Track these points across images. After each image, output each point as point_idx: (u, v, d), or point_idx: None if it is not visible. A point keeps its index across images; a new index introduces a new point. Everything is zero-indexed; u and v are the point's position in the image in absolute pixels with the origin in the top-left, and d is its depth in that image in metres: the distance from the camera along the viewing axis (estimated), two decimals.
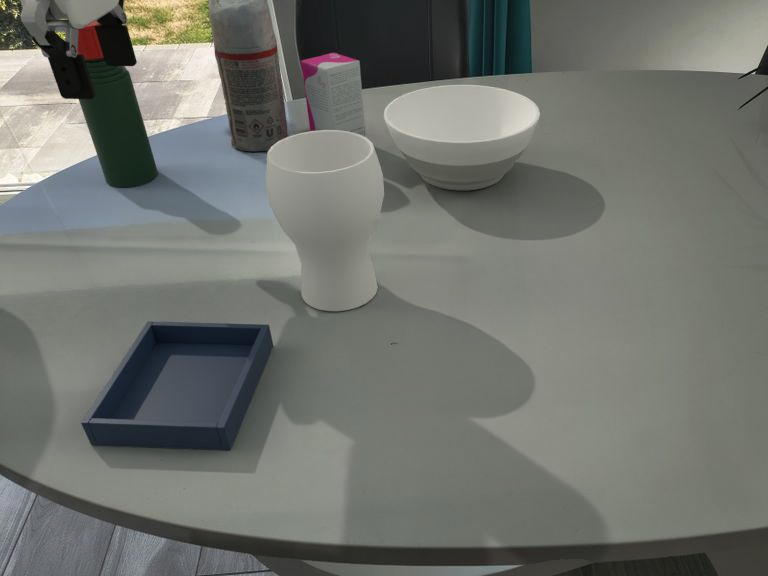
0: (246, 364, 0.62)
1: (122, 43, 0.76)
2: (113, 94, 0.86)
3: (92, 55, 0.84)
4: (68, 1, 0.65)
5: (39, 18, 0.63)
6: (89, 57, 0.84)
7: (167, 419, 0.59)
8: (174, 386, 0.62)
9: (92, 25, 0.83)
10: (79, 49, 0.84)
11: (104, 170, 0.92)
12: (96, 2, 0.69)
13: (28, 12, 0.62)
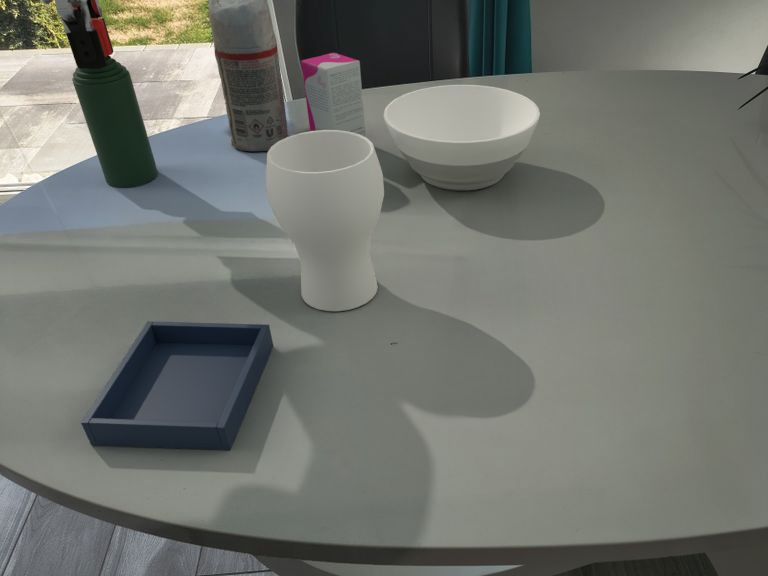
0: (246, 364, 0.62)
1: None
2: (113, 94, 0.86)
3: None
4: None
5: (70, 8, 0.77)
6: None
7: (167, 419, 0.59)
8: (174, 386, 0.62)
9: None
10: None
11: (104, 170, 0.92)
12: None
13: (62, 6, 0.76)
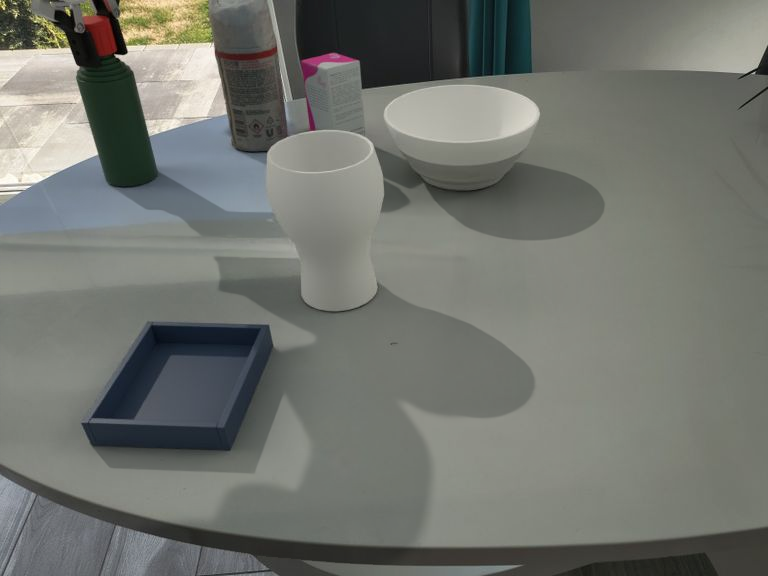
0: (246, 364, 0.62)
1: None
2: (117, 93, 0.86)
3: None
4: None
5: None
6: None
7: (167, 419, 0.59)
8: (174, 386, 0.62)
9: (90, 16, 0.85)
10: None
11: (104, 168, 0.92)
12: None
13: None
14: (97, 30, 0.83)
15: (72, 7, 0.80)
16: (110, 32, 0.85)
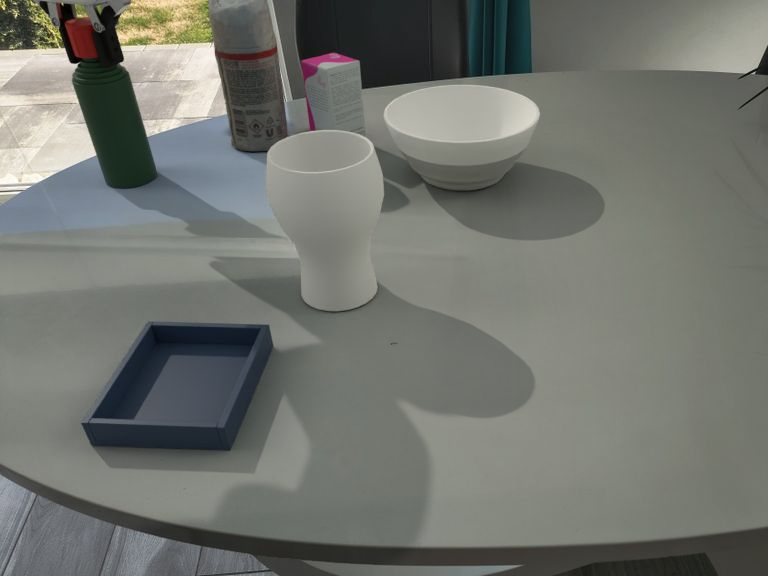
0: (246, 364, 0.62)
1: None
2: (126, 90, 0.87)
3: None
4: None
5: None
6: None
7: (167, 419, 0.59)
8: (174, 386, 0.62)
9: (70, 20, 0.84)
10: None
11: (114, 173, 0.92)
12: None
13: None
14: None
15: (48, 2, 0.82)
16: None
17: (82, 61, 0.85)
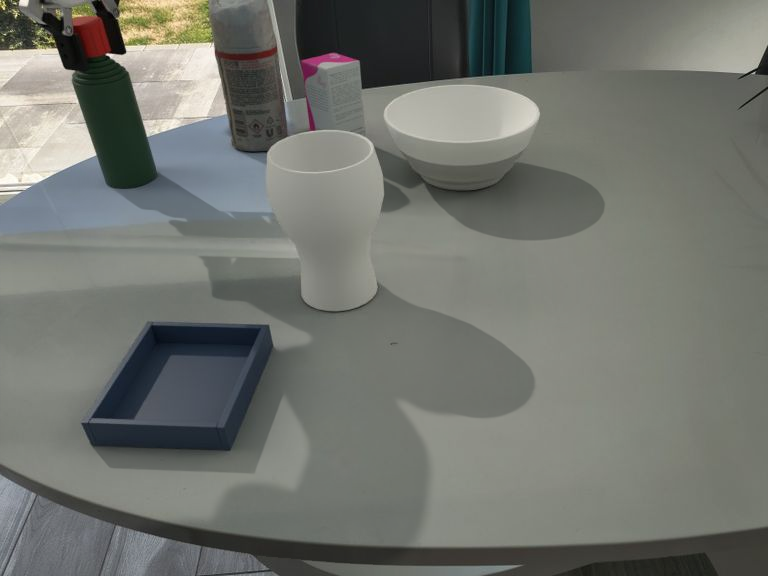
0: (246, 364, 0.62)
1: None
2: (126, 90, 0.87)
3: None
4: None
5: None
6: None
7: (167, 419, 0.59)
8: (174, 386, 0.62)
9: (73, 25, 0.82)
10: None
11: (114, 173, 0.92)
12: None
13: None
14: None
15: (63, 9, 0.79)
16: None
17: None
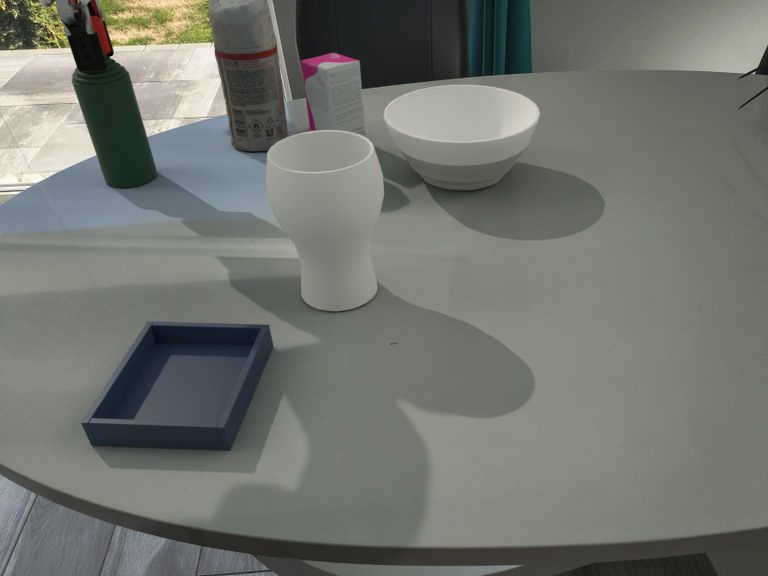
0: (246, 364, 0.62)
1: None
2: (126, 90, 0.87)
3: None
4: None
5: (70, 10, 0.77)
6: None
7: (167, 419, 0.59)
8: (174, 386, 0.62)
9: None
10: None
11: (114, 173, 0.92)
12: None
13: (63, 8, 0.76)
14: None
15: None
16: None
17: None
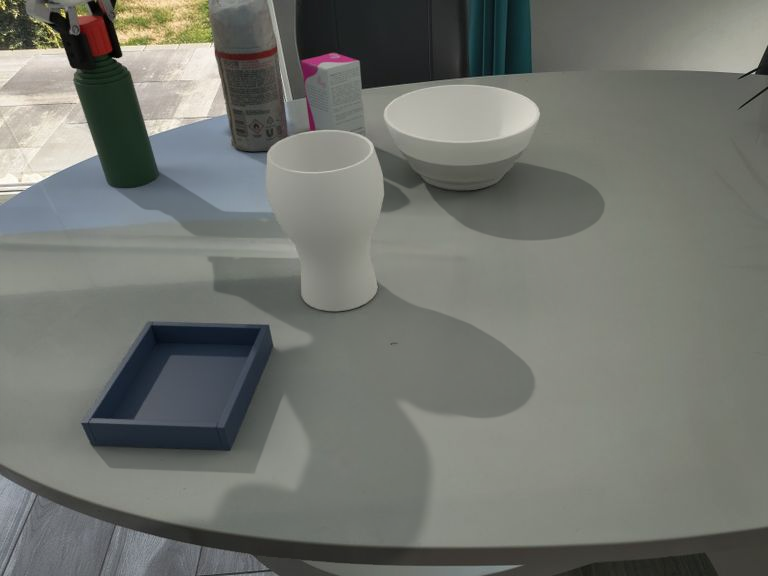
0: (246, 364, 0.62)
1: None
2: (129, 89, 0.88)
3: (111, 46, 0.86)
4: None
5: None
6: (111, 49, 0.86)
7: (167, 419, 0.59)
8: (174, 386, 0.62)
9: (99, 17, 0.85)
10: (105, 43, 0.84)
11: (118, 173, 0.92)
12: None
13: None
14: None
15: (67, 9, 0.80)
16: (89, 36, 0.83)
17: None
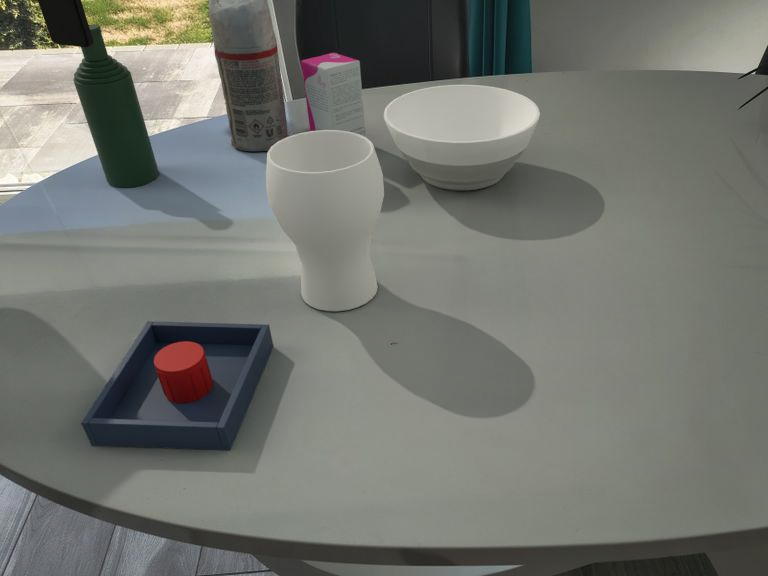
0: (246, 364, 0.62)
1: None
2: (129, 89, 0.88)
3: (211, 379, 0.63)
4: None
5: None
6: (212, 384, 0.62)
7: (167, 419, 0.59)
8: None
9: (198, 346, 0.61)
10: (206, 383, 0.61)
11: (118, 173, 0.92)
12: None
13: None
14: (164, 376, 0.59)
15: None
16: (186, 382, 0.60)
17: (84, 61, 0.85)
